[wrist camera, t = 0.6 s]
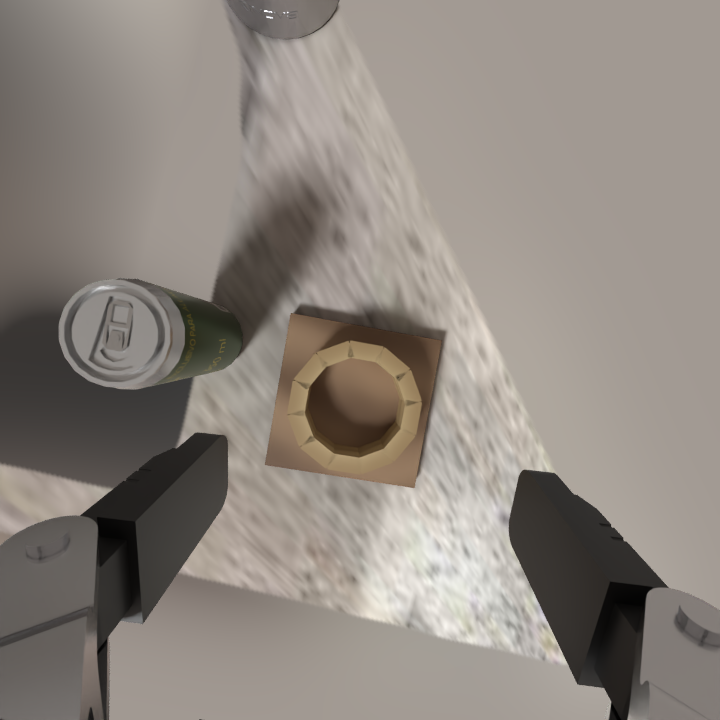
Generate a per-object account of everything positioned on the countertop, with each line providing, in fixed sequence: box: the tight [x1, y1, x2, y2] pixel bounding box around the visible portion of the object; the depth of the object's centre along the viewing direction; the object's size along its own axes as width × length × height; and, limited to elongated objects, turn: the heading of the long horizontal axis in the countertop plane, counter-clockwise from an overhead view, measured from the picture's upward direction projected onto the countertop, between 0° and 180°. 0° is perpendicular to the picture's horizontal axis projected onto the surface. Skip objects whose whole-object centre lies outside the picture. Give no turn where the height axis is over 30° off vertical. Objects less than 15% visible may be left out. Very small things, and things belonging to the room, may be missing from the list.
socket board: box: [265, 313, 442, 488], centre depth 27 cm, size 12×12×4 cm
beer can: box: [59, 278, 242, 389], centre depth 22 cm, size 5×5×12 cm
